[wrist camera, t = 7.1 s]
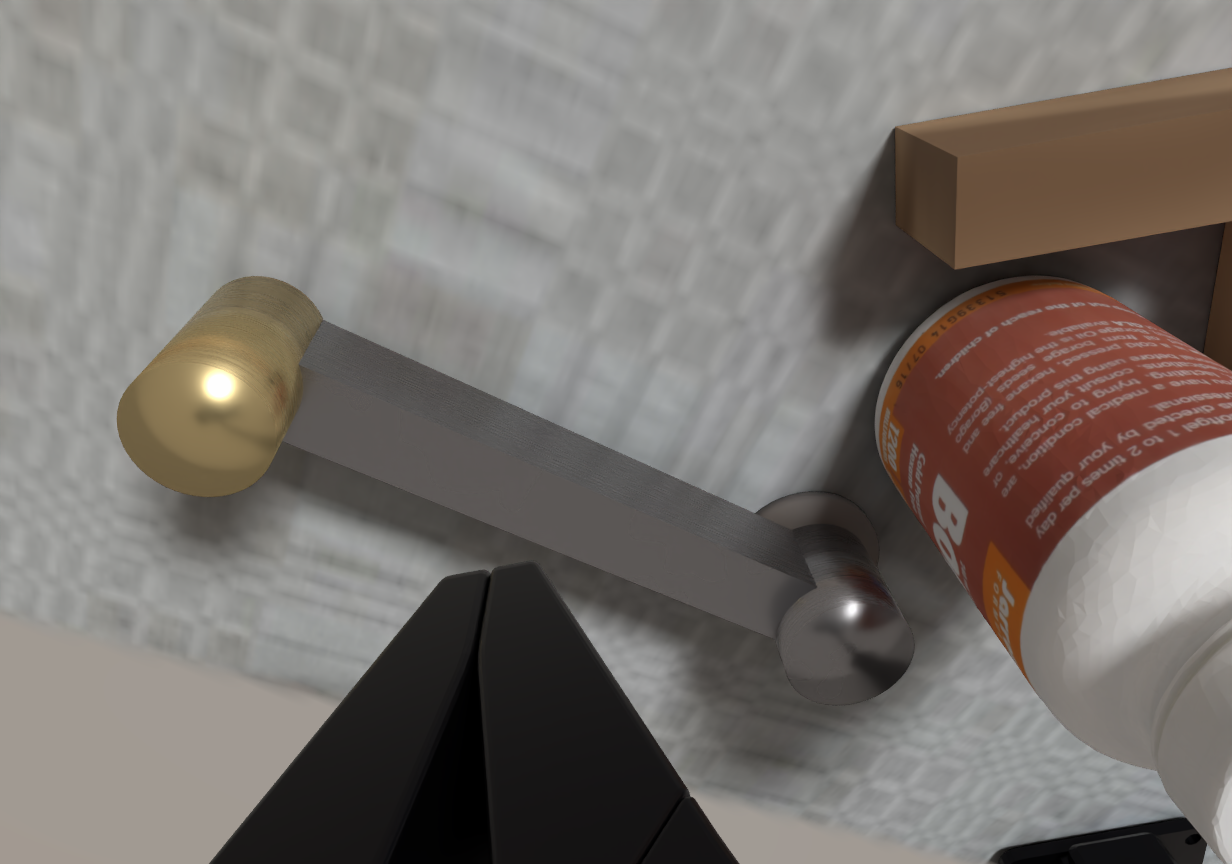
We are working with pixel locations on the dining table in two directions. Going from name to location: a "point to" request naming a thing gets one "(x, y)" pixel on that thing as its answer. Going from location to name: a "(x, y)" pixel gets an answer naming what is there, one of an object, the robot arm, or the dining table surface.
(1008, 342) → the pill bottle
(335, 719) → the robot arm
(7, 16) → the dining table surface
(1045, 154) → the wooden angled piece
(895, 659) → the lever
